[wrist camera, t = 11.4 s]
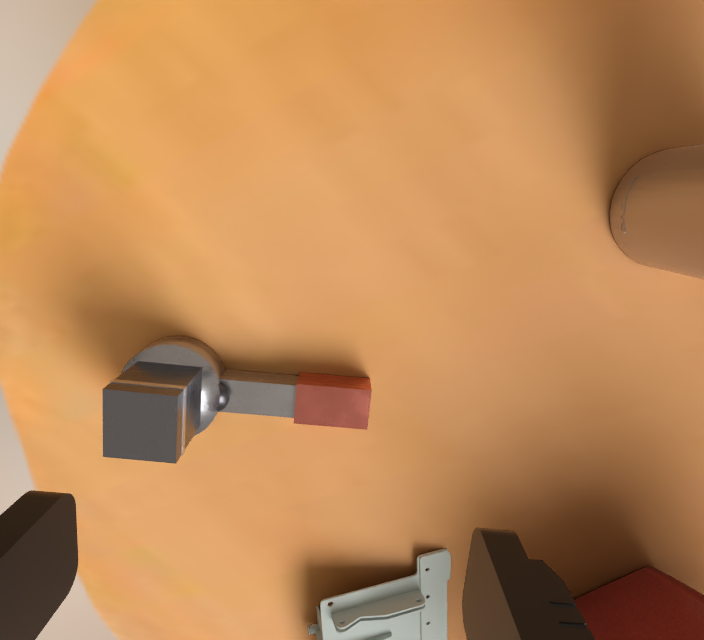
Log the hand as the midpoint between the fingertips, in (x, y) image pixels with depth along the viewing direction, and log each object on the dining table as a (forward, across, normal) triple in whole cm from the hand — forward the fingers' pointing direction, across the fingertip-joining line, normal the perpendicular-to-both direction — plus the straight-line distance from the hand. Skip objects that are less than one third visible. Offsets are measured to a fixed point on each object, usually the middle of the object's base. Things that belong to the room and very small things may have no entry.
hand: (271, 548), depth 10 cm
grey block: (+29, +12, +9) cm, 33 cm away
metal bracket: (+33, -7, +32) cm, 47 cm away
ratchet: (+32, +7, +10) cm, 34 cm away
